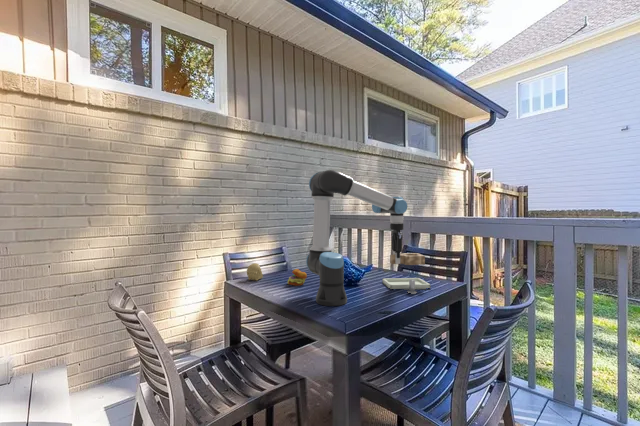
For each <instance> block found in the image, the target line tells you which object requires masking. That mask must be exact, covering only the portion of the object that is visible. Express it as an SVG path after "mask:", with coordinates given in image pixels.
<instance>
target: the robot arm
mask: <svg viewBox="0 0 640 426" xmlns="http://www.w3.org/2000/svg"><path fill="white" fill-rule="evenodd" d="M308 187H309V190H310V191H311V198H312V200H313V224H312V225H313V226H312V227H313V228H312V229H313V231H312V246H311V247H309V253H308V255H307V257H306V259H305V264H306V265H305V266H306V267H307V269H308V270H309V271H310V272H311V273H312V274H314V275H317V276H319V287H318V290H317V292H316V296H315V302H316V303H317V304H318V305H320V306H325V307H326V306H327V307H338V306H339V307H340V306H343V305H344V306H345V305H346V304H347V303H348V296H347V293H346V290H345V289H346V288H345V286H344V280H345V279H344V277H345V276H344V271H345V268H344V266H345V262H344V257H343V255H342V254H340V253H339V252H335V251H332V248H331V247H330V230H331V229H330V223H331V204H332V203H331V201H332V200H333V199H334V195H335V194H338V195H342V196H350V197H353V198H356V199H358V200H360V201H363V202H366V203H368V204H370V205H371V210H372V212H373V213H375V214H390V216H389V222H390V226H389V229H390V231H392V232H391V250H392V253H393V254H392V255H395V264H394V265H401V264H400V253H403V252H402V251H403V234H402V233H401V231H403V230H404V219H405V217H404V214H405V213H406V211H407V210H408V202H407V201H406V200H405V199H404V197H403V196H391V195H388V194H386V193H383V192H381V191H379V190H376V189H374V188H372V187H370V186H367V185H365V184H362V183H360V182H357V181H356V180H354V179H353V177H351V176H349V175H347V174H344V173H342V172H340V171H336V170H333V169H328V170H327V169H326V170H323V171H319V172H316V173H314V174H313V175H312V176H311V177H310V179H309V182H308Z"/></svg>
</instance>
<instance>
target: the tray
mask: <svg viewBox="0 0 640 426" xmlns="http://www.w3.org/2000/svg"><path fill="white" fill-rule="evenodd" d="M410 279H413V280H415V290H427V289H426V288H431V283H428V282H427V281H425V280H424V279H421V278H420V277H402V278H389V277H387V278H382V284H383V285H384V286H386V287H387V288H388V289H389V288H390V289H404V290H409V280H410ZM431 289H432V288H431Z"/></svg>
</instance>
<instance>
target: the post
mask: <svg viewBox="0 0 640 426" xmlns="http://www.w3.org/2000/svg"><path fill="white" fill-rule="evenodd" d="M407 292H408V293H411V294H410V295H417V294H418V292H417V291H416V289H415V280H413V279H410V280H409V289H408V290H407V291H406V293H407ZM408 293H407V294H408ZM416 293H417V294H416Z"/></svg>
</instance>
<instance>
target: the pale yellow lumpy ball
mask: <svg viewBox="0 0 640 426" xmlns="http://www.w3.org/2000/svg"><path fill="white" fill-rule="evenodd" d="M262 272H263V271H262V268H261V266H260V264H259V263H258V262H257V263H255V262H254V263H251V264H249V266H248V267H247V268H246V276H247V277H248V279H247V280H249V281H251V280H252V281H258V280H261V279H263V277H264V274H263V273H262Z"/></svg>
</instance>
